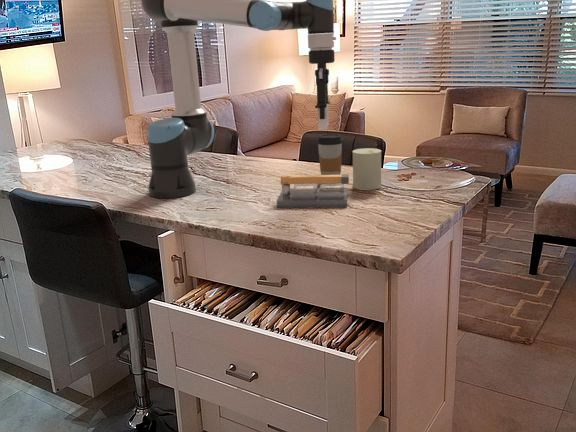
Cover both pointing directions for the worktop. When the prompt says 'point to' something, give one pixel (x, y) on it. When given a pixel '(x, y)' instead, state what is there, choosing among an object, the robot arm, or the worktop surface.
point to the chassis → (313, 196)
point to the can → (367, 169)
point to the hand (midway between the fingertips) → (323, 127)
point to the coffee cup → (330, 154)
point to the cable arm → (315, 179)
